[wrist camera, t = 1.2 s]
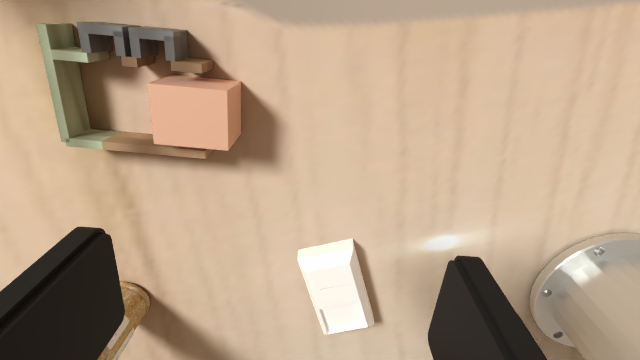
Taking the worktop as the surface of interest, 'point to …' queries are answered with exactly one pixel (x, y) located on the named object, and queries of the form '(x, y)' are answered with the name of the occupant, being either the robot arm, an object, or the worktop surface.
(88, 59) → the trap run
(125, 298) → the sprinkles bottle
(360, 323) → the white flat block
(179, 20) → the worktop surface
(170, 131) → the block
